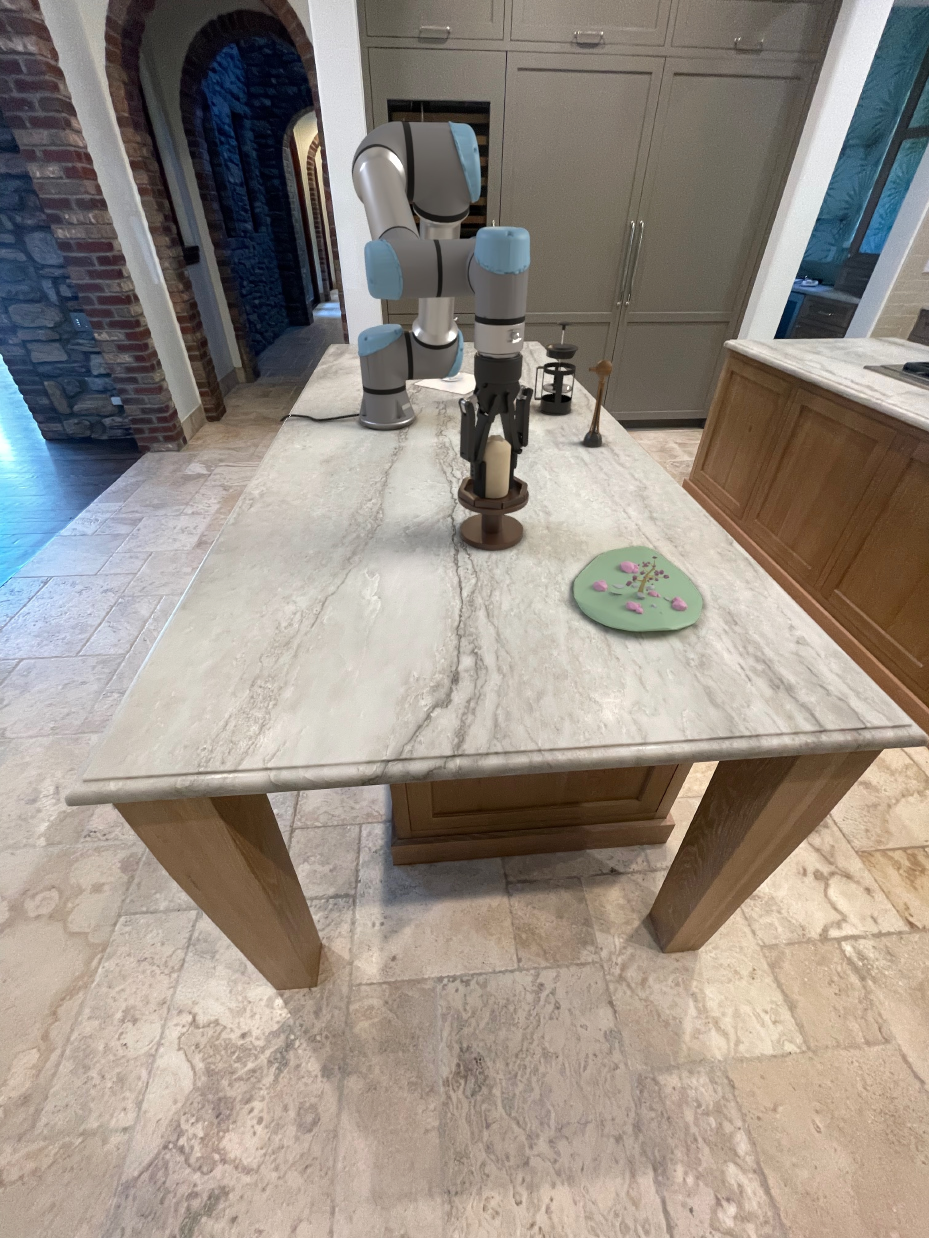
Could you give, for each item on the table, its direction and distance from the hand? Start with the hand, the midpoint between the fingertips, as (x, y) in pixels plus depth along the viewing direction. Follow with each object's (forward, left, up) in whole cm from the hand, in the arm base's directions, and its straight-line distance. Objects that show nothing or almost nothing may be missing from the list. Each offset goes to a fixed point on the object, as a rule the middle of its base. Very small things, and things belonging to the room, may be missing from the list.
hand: (493, 490), depth 97 cm
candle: (0, 0, 0) cm, 0 cm away
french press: (+7, +73, -9) cm, 74 cm away
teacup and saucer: (-27, +95, -9) cm, 99 cm away
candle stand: (0, 0, -9) cm, 9 cm away
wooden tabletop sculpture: (+18, +49, -9) cm, 53 cm away
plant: (+26, -13, -9) cm, 31 cm away
